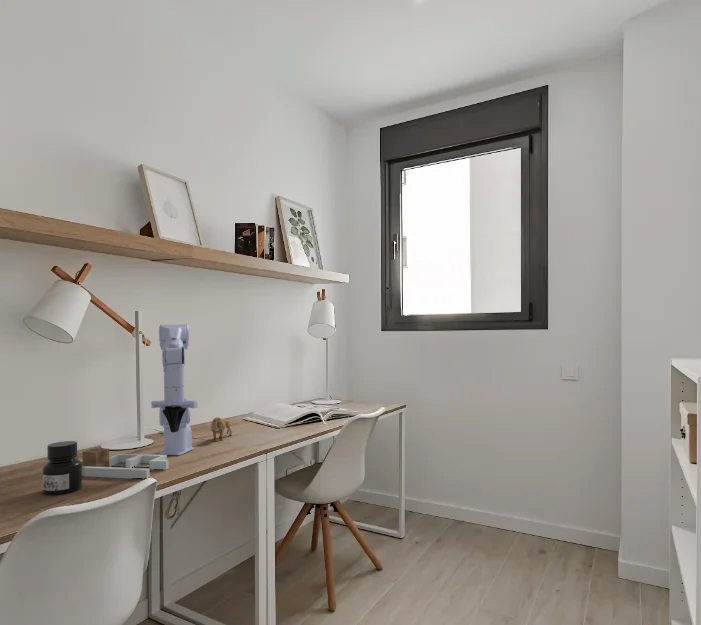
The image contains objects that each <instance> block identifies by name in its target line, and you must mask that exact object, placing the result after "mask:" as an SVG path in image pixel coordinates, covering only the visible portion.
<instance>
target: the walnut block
mask: <svg viewBox="0 0 701 625" xmlns="http://www.w3.org/2000/svg"><path fill="white" fill-rule="evenodd" d="M109 457H110V448H105V447H95V448H90V449H88V450H84V451H82V460H83V466H89V467H109Z"/></svg>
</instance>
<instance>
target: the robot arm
mask: <svg viewBox="0 0 701 625" xmlns="http://www.w3.org/2000/svg"><path fill="white" fill-rule="evenodd" d="M189 328H190V327H189V324H187V323H186V324H185V323H184V324H162V323H161V324H160V325H159V327H158V339H159V340H158V341H159V346H160V350H161V352H162V354H161V356H162V357H161V361H162V368H163V387H164V388H163V390H164V391H163V394H164V397H163V398H164V400H154V401H151V402H150V403H151V405H150V406H151V409H155V408H157V409H158V408H159V416H158V417H159V418H158V419H159V425H160V427H163V451H161V452H158V455H167V456H181V455H183V454H185V453H187V452H189V451H192V450H194V449H195V447H193V440H192V439H193V437H192V436H193V430H192V428H191V426H190V425H189V424H190V423H191V409H196V408H199V407H198V406H199V404H198V402H199V401H197V400H189V399H186V398H185V369H184V368H185V367H184V366H185V365H186V351H187V350H188V346H189V340H190V332H189V330H190V329H189Z"/></svg>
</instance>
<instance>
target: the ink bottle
mask: <svg viewBox="0 0 701 625" xmlns="http://www.w3.org/2000/svg"><path fill="white" fill-rule="evenodd" d="M46 453H47V462H46V464H45V465H44V466H43V467H42V473H41V474H42V475H41V476H42V481H41V482H42V486H41V487H42V493H43V494H45V495H62V494H68V493H71V492H74V491H77V490H80V489H81V488H82V487H83V476H82V463H81V461H80V460H81V459H80V460H79V459H78V458H76V457H77V456H78V441H76V440H74V441H73V440H68V441H67V440H65V441H58V442H57V441H56V442H53V443H50V444H47V452H46Z"/></svg>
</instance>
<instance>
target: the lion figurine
mask: <svg viewBox="0 0 701 625" xmlns="http://www.w3.org/2000/svg"><path fill="white" fill-rule="evenodd" d="M230 423H231V422H230V420H227V419H222V418H221V417H214V418H213V419H212V420H211V425H210V428H211V430H210V431H211V432H212V436H213V439H212V442H216V441H217V434H218V435H219V436H218V438H219V441H220V442H221V441H224V438H223V435H224V433H225V432H224V430H225V429H226V430H227V432H226V434H227V435H228V436H229V437H232V435H233V434H232V429H231V424H230Z"/></svg>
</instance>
